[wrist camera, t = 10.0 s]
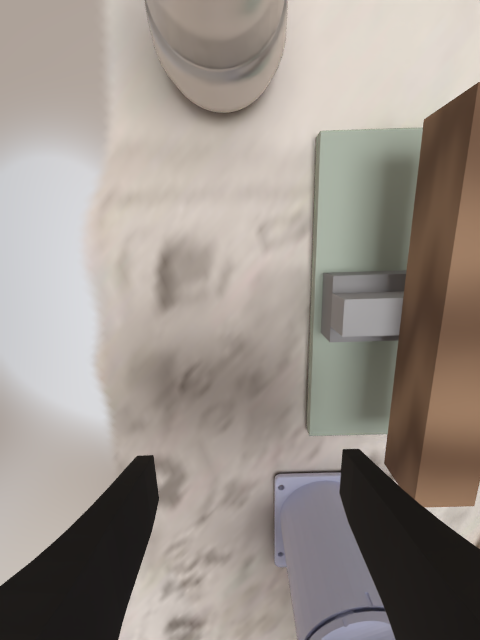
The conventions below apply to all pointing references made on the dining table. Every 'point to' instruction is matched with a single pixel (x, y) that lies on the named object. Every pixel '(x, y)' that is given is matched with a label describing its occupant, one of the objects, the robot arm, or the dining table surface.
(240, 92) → the plastic bottle
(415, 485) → the walnut beam
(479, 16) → the dining table surface
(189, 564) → the dining table surface
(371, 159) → the balance stand
